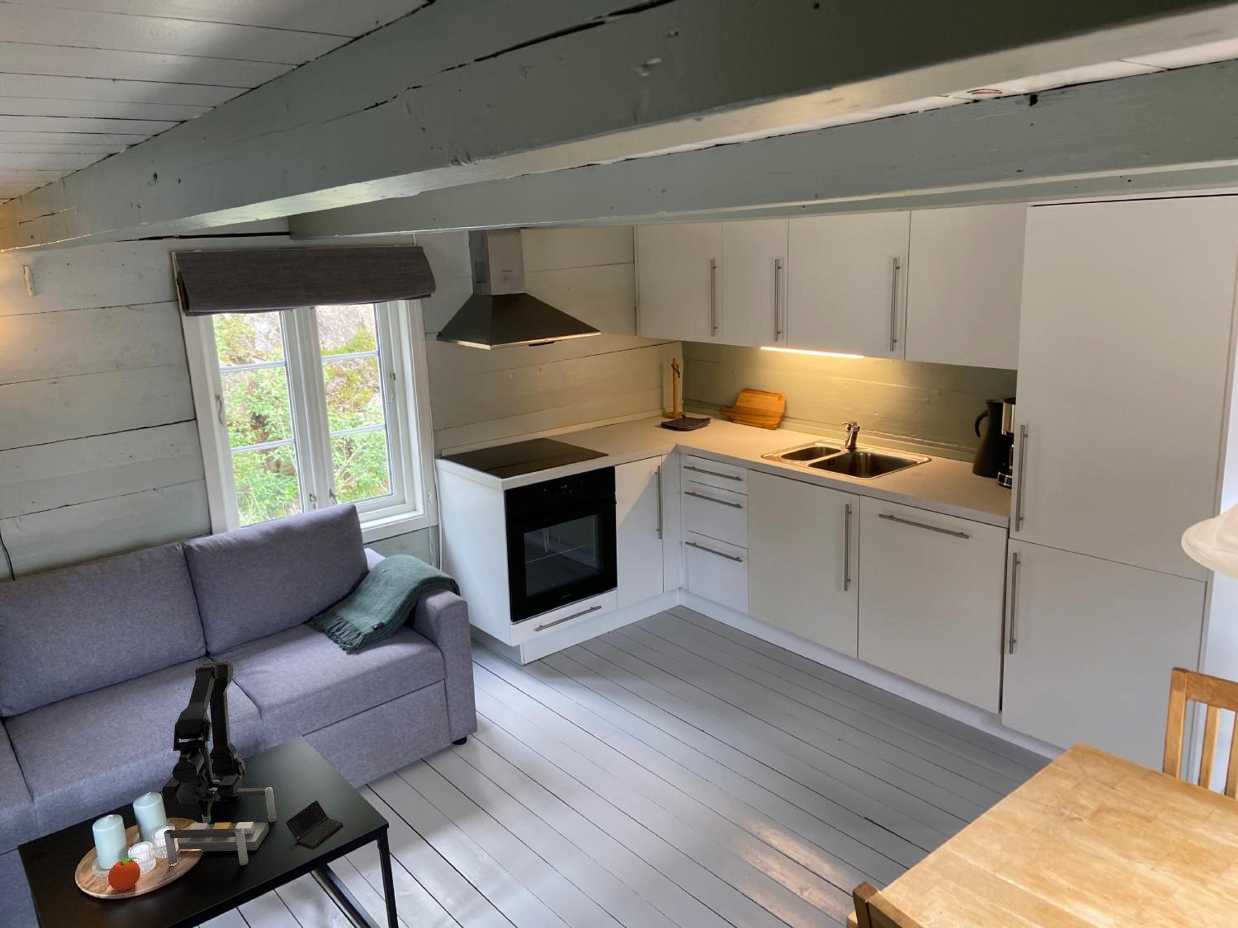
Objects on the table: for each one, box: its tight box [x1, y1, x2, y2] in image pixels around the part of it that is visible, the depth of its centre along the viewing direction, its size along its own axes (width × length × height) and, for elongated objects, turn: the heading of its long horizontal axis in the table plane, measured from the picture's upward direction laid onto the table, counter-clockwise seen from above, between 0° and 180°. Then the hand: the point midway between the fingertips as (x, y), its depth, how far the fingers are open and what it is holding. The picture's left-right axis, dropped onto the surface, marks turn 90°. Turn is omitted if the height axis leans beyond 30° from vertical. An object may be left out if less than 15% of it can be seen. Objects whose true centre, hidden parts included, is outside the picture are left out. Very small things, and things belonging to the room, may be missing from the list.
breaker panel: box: [177, 822, 270, 852], centre depth 237 cm, size 8×20×2 cm, turn 88°
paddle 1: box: [189, 822, 210, 830], centre depth 236 cm, size 2×4×2 cm, turn 88°
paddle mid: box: [213, 822, 232, 829], centre depth 236 cm, size 2×4×2 cm, turn 89°
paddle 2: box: [235, 821, 255, 834], centre depth 236 cm, size 2×4×2 cm, turn 89°
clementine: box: [107, 856, 143, 891], centre depth 220 cm, size 8×7×7 cm
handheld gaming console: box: [285, 800, 344, 849], centre depth 239 cm, size 12×7×10 cm
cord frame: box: [163, 787, 277, 866], centre depth 236 cm, size 20×20×9 cm
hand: (206, 815), depth 236 cm, fingers closed
